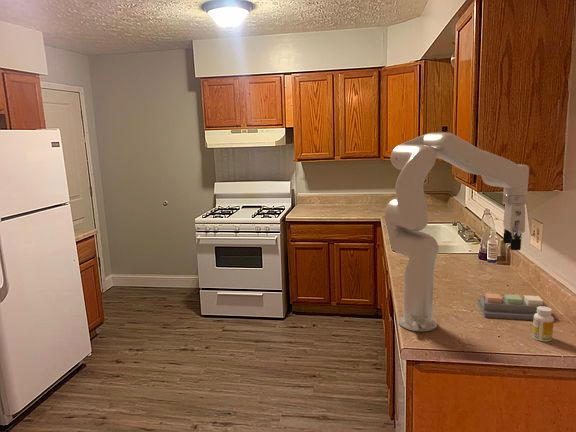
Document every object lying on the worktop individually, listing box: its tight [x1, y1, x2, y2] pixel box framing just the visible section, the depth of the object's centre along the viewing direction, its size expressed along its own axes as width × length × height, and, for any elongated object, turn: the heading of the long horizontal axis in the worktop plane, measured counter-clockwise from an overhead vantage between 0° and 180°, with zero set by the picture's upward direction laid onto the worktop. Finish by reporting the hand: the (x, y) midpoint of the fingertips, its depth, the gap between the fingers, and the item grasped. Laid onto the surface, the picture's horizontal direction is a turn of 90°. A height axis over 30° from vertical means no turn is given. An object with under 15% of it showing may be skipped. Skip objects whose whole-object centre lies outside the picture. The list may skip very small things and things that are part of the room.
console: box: [476, 295, 549, 321], centre depth 156 cm, size 13×21×4 cm, turn 77°
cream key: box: [523, 294, 544, 306], centre depth 154 cm, size 5×5×3 cm
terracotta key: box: [484, 292, 502, 303], centre depth 157 cm, size 5×5×3 cm
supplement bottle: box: [531, 306, 555, 343], centre depth 136 cm, size 5×5×10 cm
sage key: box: [504, 293, 522, 304], centre depth 156 cm, size 5×5×3 cm
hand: (511, 246), depth 158 cm, fingers open, 9 cm apart
